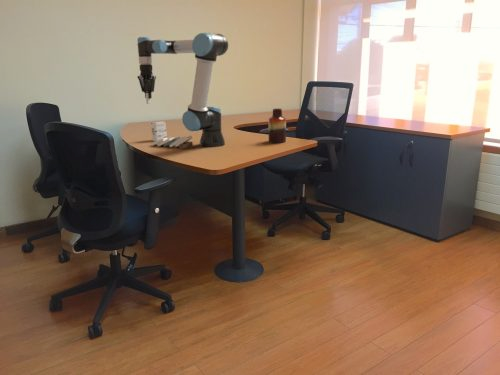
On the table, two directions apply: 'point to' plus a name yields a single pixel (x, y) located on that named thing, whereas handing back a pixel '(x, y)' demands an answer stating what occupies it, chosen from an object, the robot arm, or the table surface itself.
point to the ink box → (158, 130)
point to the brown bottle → (277, 127)
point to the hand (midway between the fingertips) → (148, 103)
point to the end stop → (186, 145)
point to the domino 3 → (171, 142)
